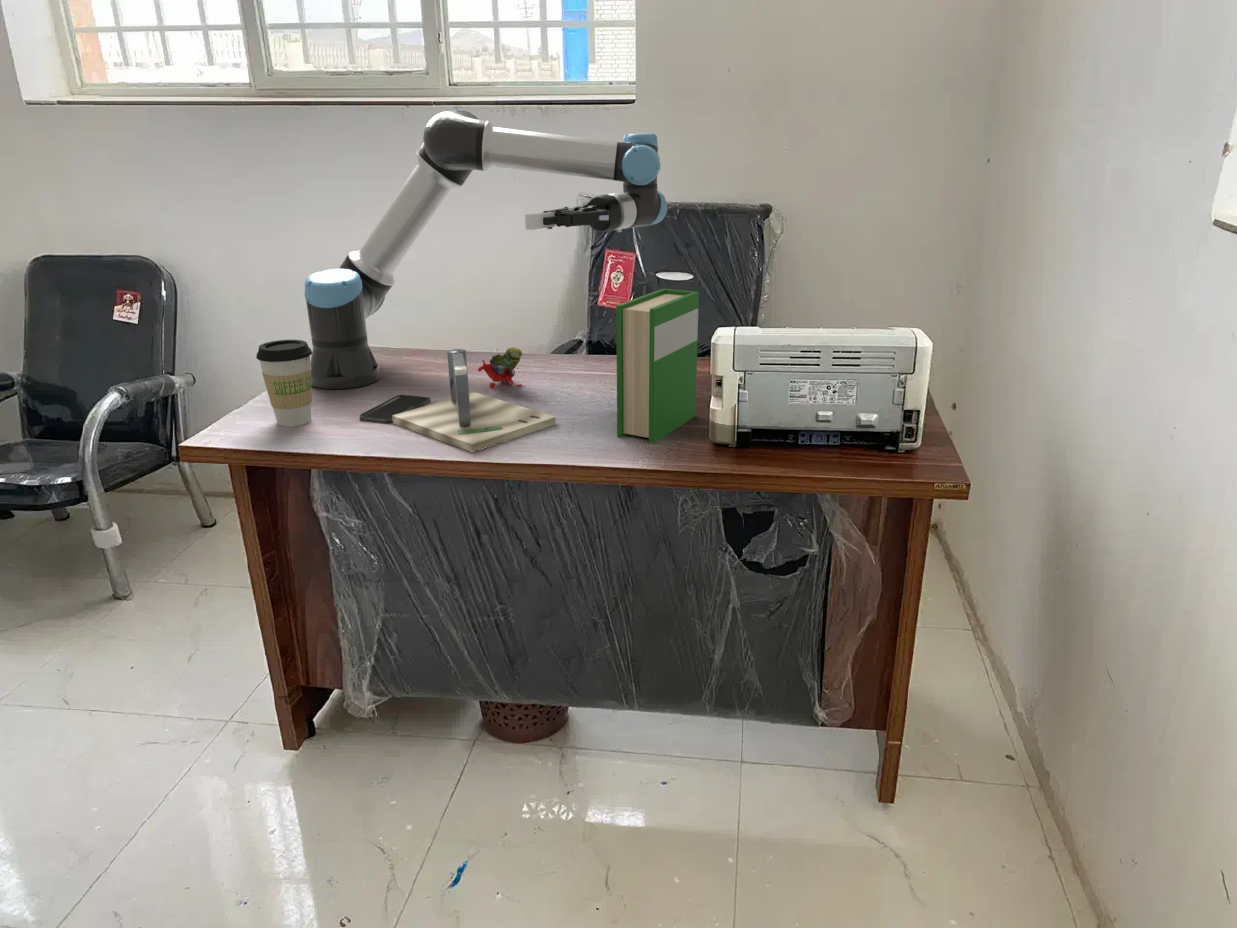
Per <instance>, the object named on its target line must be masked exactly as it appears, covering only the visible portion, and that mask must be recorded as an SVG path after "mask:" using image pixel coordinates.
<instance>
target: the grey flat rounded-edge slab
mask: <svg viewBox="0 0 1237 928" xmlns="http://www.w3.org/2000/svg"><path fill="white" fill-rule="evenodd" d="M467 359H468V358H467V350H466V349H463V348H453V349H449V350H447V366H448V377H449V379H448V380H449V388H450V399H451V402H453V403H456V408H457V414H458V420H459V426H471V423H470V409H469V400H470V399H469V394H470V388H469V387H470V385H469V374H468V361H467Z"/></svg>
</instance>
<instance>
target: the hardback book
mask: <svg viewBox="0 0 1237 928" xmlns="http://www.w3.org/2000/svg"><path fill="white" fill-rule="evenodd" d="M699 294H700V292H699V291H693V290H692V291H691V290H682V289H671V288H660V289H657V290H655V291H652V292H649V293H647V294H644V295H641V296H639V297H636V298H633V299H630V300H628V301H625V302H622V303H618V304H617V305H616V307H615V309H616V310H615V311H616V314H615V315H616V318H615V319H616V321H615V324H616V333H615V334H616V430H617V431H616V435H617V436H616V437H617V438H623V437H625V436H627V435H630V436H631V435H632V436H637V437H642V438H648V443H649V442H650V443H649V444H653V443H654V442H655V443H657V442H658V441H660V440H661V439H663V438H664V437H666V436H667V435H669V434H670V433H672V432H673V431H675V430H676V429H677V428H680V427H681V426H682V425H684V424H686V423H687V422H689V421H690V420H692V419H693V418H694V417H696V411H697V408H696V405H697V401H696V400H697V373H698V372H697V370H698V336H699V335H698V334H699V333H698V332H699V331H698V330H699V326H698V325H699V298H700V295H699ZM656 441H657V442H656ZM655 443H654V444H655Z"/></svg>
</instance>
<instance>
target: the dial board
mask: <svg viewBox="0 0 1237 928" xmlns="http://www.w3.org/2000/svg"><path fill="white" fill-rule="evenodd" d="M469 399H470V400H469V409H470V423H471V426H459V420H458V414H457V408H456V403H453V402H451V398H449V399H447V400H442V401H439V402H435V403H432V404H431V403H430V404H427V405H426V406H424V407H420V408H417V409H413V410H410V411H406V412H402V413H399V414H395V415H392V420H393V423H392V424H395V425H397V426H400V427H403V428H405V429H409V430H411V431H414V432H417V433H419V434H422V435H424V436H428V437H430V438H432V439H435V440H438V441H441V442H443V441H444V442H443V443H446V444H448V443H449V445H451V444H452V446H454V445H455V446H454V447H456V446H458V447H457V448H459V447H460V448H459V449H462V448H463V449H462V450H465V449H466V450H465V451H467V450H469V451H468V452H470V451H472V452H471V453H474V452H473V451H476V450H479V449H482V448H485V447H488V446H491V445H494V444H496V445H499V444H502V443H505V442H508V441H511V440H514V439H517V438H520V437H523V436H525V435H526V436H527V435H528V434H531V433H534V432H538V431H540V430H543V429H547V428H549V427H552V426H555V425H557V421H556V420H557V417H556V416H555V415H552V414H551V415H550V414H548V413H545V412H541V411H538V410H534V409H531V408H527V407H525V406H521V405H517V404H516V403H515V404H514V403H511V402H508V401H504V400H502V399H498V398H496V397H495V398H494V397H491V396H488V395H486V394H482V393H479V392H471V393H470V392H469ZM507 440H508V441H507ZM504 441H505V442H504ZM498 443H499V444H498ZM494 446H495V445H494ZM491 447H492V446H491ZM488 448H489V447H488ZM485 449H486V448H485ZM482 450H483V449H482ZM479 451H480V450H479ZM476 452H477V451H476Z"/></svg>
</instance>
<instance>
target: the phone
mask: <svg viewBox="0 0 1237 928" xmlns="http://www.w3.org/2000/svg"><path fill="white" fill-rule="evenodd" d="M431 403H432V402H431V397H428V396H419V395H411V394H410V395H408V394H397V395H395V396H393V397H391V398H390V399H388V400H386V401H384V402H382V403H380V404H378V405H376V406H374V407H372V408H370V409H368V410H366V411H364V412H363V413H360V414H359V420H360V421H363V422H371V423H378V422H379V424H390V425H391V424H394V423H393V420H392V415H395V414H399V413H402V412H406V411H410V410H413V409H417V408H420V407H424V406H427V405H430V404H431Z"/></svg>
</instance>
